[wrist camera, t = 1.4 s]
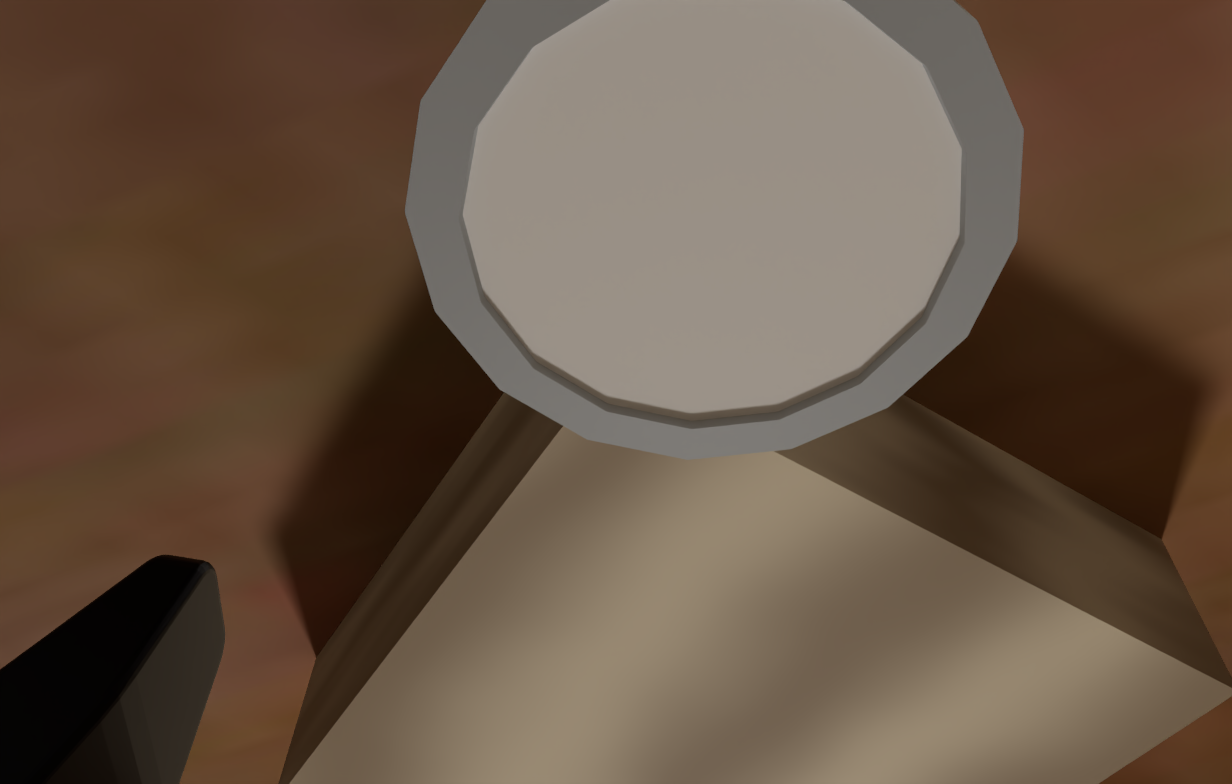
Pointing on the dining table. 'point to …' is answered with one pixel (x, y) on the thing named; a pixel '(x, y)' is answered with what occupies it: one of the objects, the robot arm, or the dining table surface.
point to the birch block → (756, 621)
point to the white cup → (714, 209)
